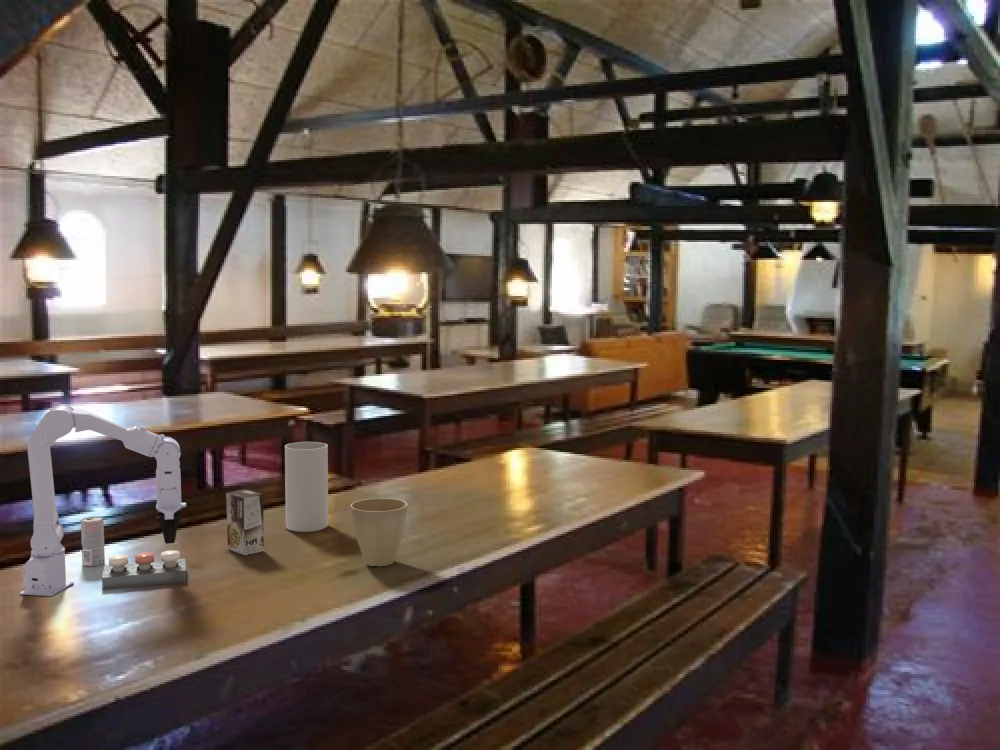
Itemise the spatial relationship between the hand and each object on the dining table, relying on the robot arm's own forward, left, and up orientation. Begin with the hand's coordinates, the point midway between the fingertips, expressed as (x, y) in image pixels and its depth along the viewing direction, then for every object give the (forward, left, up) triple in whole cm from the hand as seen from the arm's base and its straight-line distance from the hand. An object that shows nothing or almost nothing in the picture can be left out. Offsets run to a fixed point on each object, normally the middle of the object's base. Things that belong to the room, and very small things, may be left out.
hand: (170, 540), depth 229 cm
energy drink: (+7, +25, -10) cm, 27 cm away
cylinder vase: (+50, -18, -10) cm, 54 cm away
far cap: (0, 0, -7) cm, 7 cm away
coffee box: (+25, -9, -10) cm, 28 cm away
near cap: (-5, +11, -7) cm, 14 cm away
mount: (-3, +5, -9) cm, 11 cm away
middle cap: (-3, +5, -7) cm, 9 cm away
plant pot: (+20, -48, -10) cm, 53 cm away
